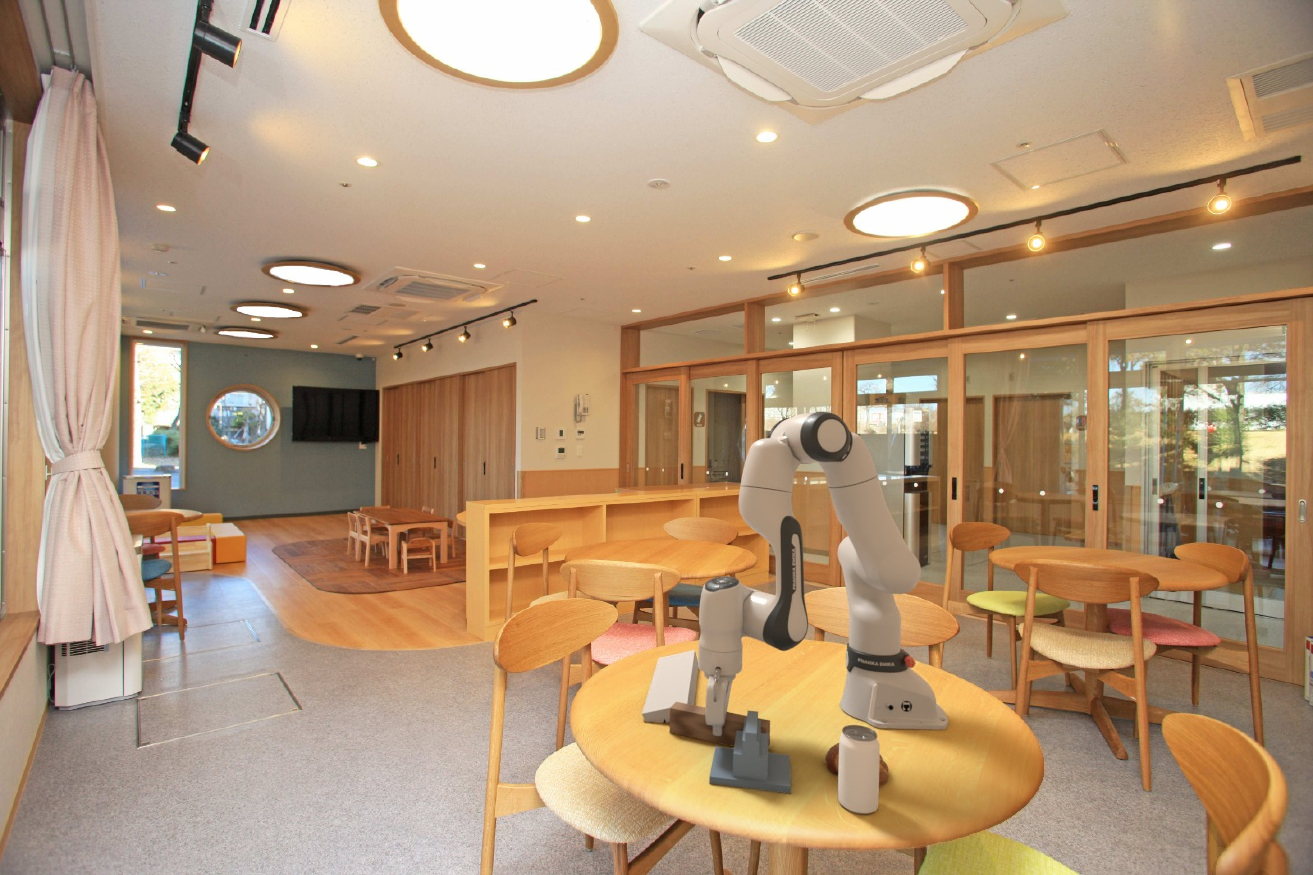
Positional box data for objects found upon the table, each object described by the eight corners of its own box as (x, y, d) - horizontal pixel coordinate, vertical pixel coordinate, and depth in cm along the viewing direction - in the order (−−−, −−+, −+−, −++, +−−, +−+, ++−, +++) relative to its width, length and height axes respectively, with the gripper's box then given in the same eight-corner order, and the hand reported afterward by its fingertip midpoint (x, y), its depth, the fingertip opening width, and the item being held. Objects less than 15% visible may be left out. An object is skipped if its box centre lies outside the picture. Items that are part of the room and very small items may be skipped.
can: (873, 820, 100) (875, 745, 100) (833, 807, 104) (834, 734, 104) (882, 801, 106) (883, 730, 106) (843, 788, 109) (845, 720, 109)
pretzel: (904, 783, 112) (905, 763, 112) (856, 796, 108) (857, 774, 108) (858, 751, 123) (859, 732, 123) (813, 761, 119) (813, 741, 119)
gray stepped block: (789, 761, 118) (790, 712, 118) (790, 793, 107) (791, 740, 107) (715, 752, 121) (716, 705, 121) (709, 783, 110) (710, 731, 110)
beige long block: (647, 735, 134) (692, 726, 132) (641, 713, 134) (687, 704, 133) (663, 675, 167) (699, 667, 166) (658, 657, 168) (694, 649, 166)
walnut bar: (769, 745, 124) (770, 720, 124) (765, 753, 121) (766, 727, 121) (675, 725, 132) (676, 701, 132) (669, 732, 129) (670, 707, 129)
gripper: (732, 680, 115) (730, 755, 115) (738, 644, 136) (737, 708, 136) (698, 677, 117) (696, 751, 117) (709, 642, 137) (708, 705, 137)
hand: (718, 728), depth 126 cm, fingers closed on walnut bar, 4 cm apart
